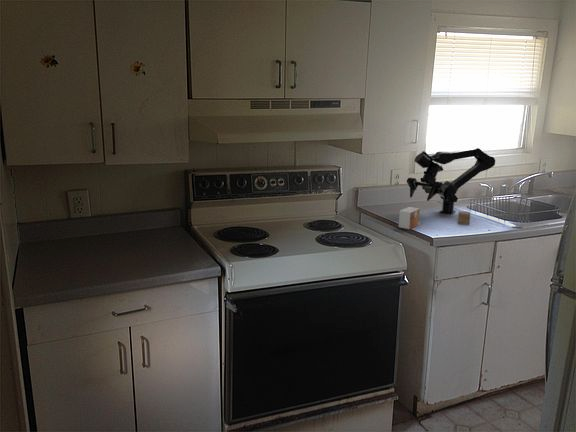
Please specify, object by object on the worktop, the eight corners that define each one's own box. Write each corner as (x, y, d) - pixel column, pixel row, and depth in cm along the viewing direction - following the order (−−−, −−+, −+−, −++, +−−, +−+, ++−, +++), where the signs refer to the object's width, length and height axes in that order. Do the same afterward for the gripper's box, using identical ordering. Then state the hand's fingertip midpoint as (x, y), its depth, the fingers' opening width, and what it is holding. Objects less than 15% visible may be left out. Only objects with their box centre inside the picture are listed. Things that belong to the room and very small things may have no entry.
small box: (418, 224, 253) (409, 229, 244) (407, 222, 256) (398, 227, 248) (420, 208, 251) (410, 212, 242) (408, 206, 254) (399, 210, 246)
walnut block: (457, 221, 262) (458, 210, 261) (468, 221, 261) (469, 211, 259) (458, 223, 257) (459, 213, 256) (469, 224, 256) (470, 214, 255)
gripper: (452, 185, 270) (440, 211, 265) (418, 180, 282) (406, 204, 277) (446, 172, 262) (434, 198, 257) (412, 167, 274) (400, 192, 269)
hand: (418, 198), depth 266 cm, fingers open, 9 cm apart
